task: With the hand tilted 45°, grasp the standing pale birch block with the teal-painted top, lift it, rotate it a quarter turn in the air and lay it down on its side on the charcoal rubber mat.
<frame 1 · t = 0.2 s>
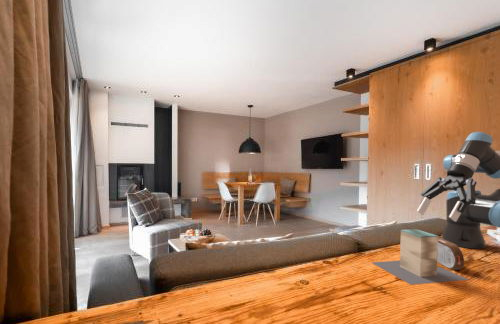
hand: (435, 215, 99), 15 cm above the table, tool tilted 35°, fingers open, 13 cm apart
block: (417, 270, 85), resting on mat
mat: (416, 271, 86), on the table
tin: (443, 265, 92), on the table
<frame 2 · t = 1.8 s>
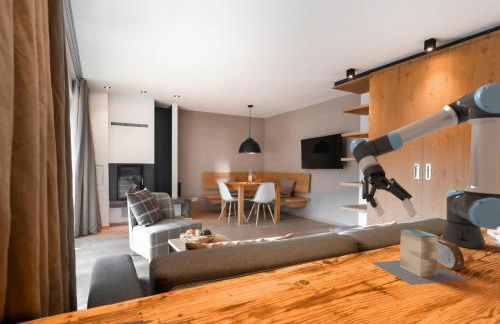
hand: (398, 215, 95), 16 cm above the table, tool tilted 45°, fingers open, 13 cm apart
nothing on the table moved.
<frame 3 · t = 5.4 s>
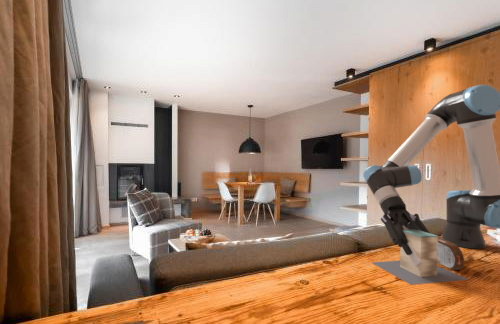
hand: (427, 263, 82), 4 cm above the table, tool tilted 45°, fingers closed on block, 6 cm apart
block: (417, 270, 85), resting on mat, touching gripper
everything else where it was.
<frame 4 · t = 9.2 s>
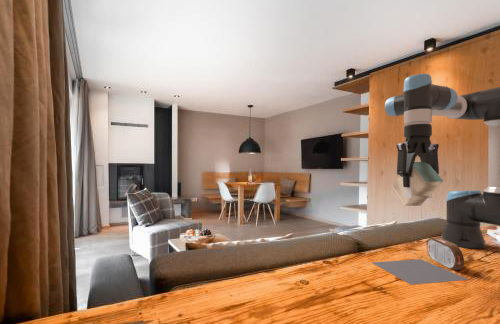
hand: (418, 197, 86), 23 cm above the table, tool pointing down, fingers closed on block, 6 cm apart
block: (405, 196, 91), point 23 cm above the table, tilted 44°, touching gripper
everything else where it was.
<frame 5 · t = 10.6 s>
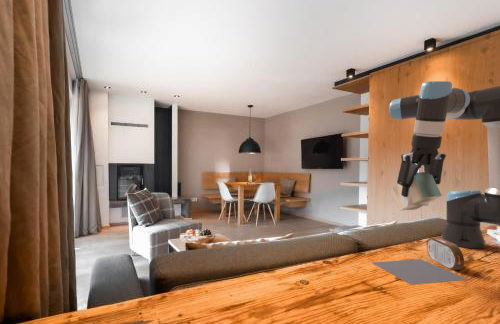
hand: (414, 204, 88), 21 cm above the table, tool tilted 15°, fingers closed on block, 6 cm apart
block: (403, 198, 93), point 22 cm above the table, tilted 61°, touching gripper
everything else where it was.
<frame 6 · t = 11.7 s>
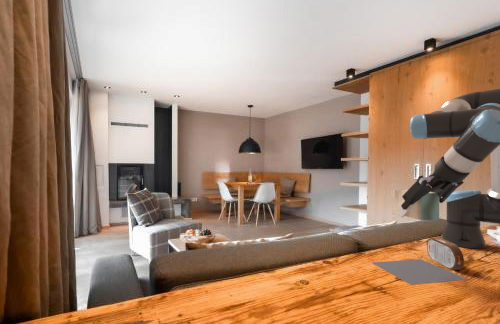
hand: (409, 213, 89), 18 cm above the table, tool tilted 45°, fingers closed on block, 6 cm apart
block: (400, 201, 93), point 21 cm above the table, tilted 90°, touching gripper
everything else where it was.
when the fingers open (4 cm above the table, at t = 15.6 s): block drops 3 cm, resting on mat.
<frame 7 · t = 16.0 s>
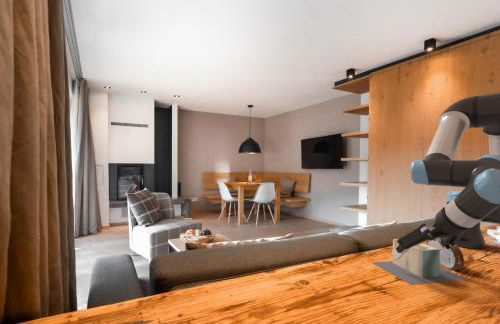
hand: (411, 254, 88), 5 cm above the table, tool tilted 45°, fingers open, 12 cm apart
block: (400, 250, 93), point 4 cm above the table, tilted 90°, touching mat
everything else where it was.
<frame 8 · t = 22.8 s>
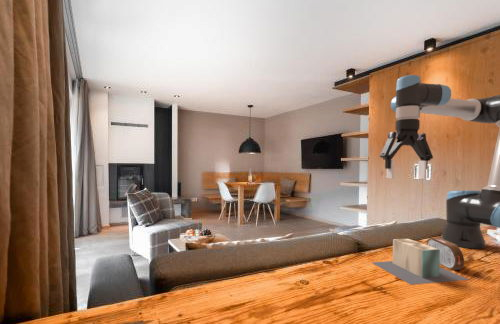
hand: (406, 178, 98), 29 cm above the table, tool pointing down, fingers open, 13 cm apart
nothing on the table moved.
at the end: block tilted 90°; block 6.8 cm from the mat (horizontally); the gripper is holding nothing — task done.
